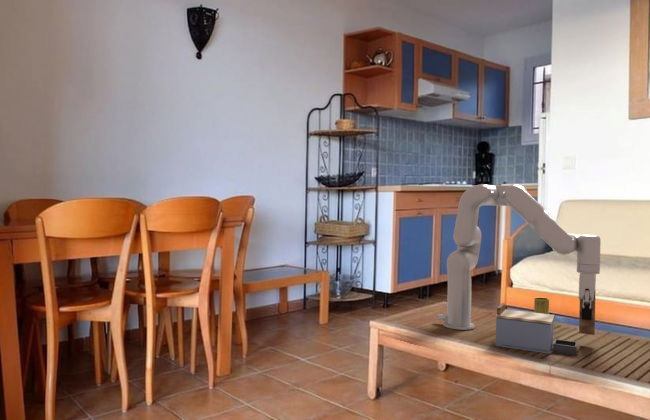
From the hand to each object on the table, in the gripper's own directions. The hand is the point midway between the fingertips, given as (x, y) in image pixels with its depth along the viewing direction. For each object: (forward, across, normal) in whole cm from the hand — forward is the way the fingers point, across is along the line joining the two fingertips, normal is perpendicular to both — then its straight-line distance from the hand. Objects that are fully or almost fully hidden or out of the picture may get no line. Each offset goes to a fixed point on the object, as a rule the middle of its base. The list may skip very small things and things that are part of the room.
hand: (586, 317), depth 190 cm
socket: (+10, +13, -6) cm, 18 cm away
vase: (+10, -7, -16) cm, 20 cm away
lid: (0, +13, -20) cm, 24 cm away
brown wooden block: (+5, 0, 0) cm, 5 cm away
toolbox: (+10, +13, -20) cm, 26 cm away
